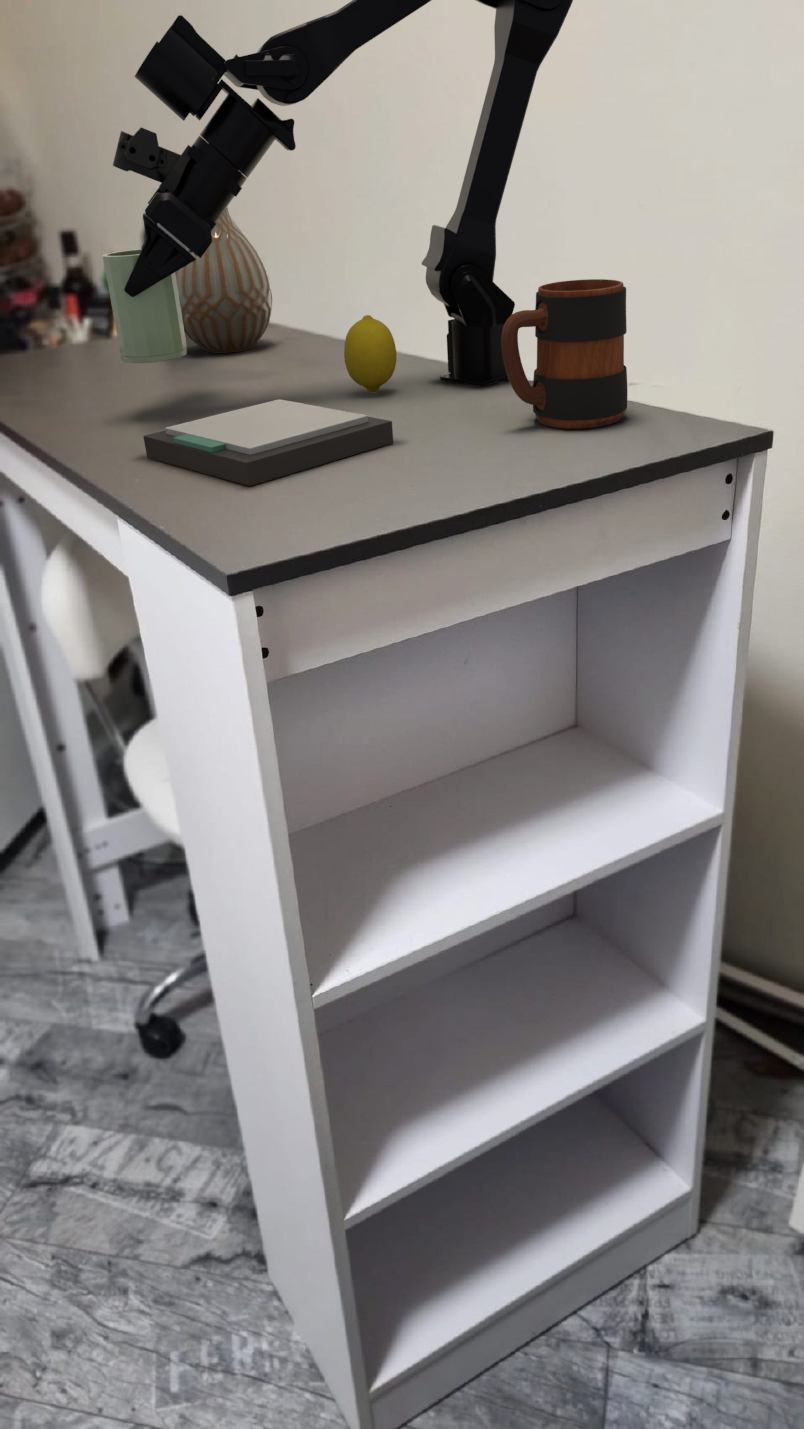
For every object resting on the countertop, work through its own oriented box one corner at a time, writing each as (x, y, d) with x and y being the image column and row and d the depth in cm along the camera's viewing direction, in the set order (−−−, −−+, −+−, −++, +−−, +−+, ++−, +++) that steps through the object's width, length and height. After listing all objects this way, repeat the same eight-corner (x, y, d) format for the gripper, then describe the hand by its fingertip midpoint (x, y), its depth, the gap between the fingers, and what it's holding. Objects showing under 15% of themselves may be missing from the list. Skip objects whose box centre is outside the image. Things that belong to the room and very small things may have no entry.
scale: (393, 443, 99) (391, 414, 97) (249, 486, 89) (245, 455, 88) (285, 420, 109) (282, 394, 108) (146, 457, 100) (141, 429, 99)
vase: (272, 336, 156) (256, 201, 148) (283, 351, 145) (266, 206, 136) (179, 346, 154) (158, 209, 146) (183, 362, 143) (160, 215, 134)
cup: (200, 351, 114) (184, 247, 109) (158, 364, 109) (139, 256, 104) (151, 349, 117) (134, 248, 112) (108, 362, 112) (87, 257, 107)
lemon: (405, 387, 119) (400, 310, 116) (388, 399, 115) (382, 319, 111) (358, 387, 121) (352, 311, 117) (339, 398, 117) (332, 320, 113)
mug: (484, 421, 103) (480, 290, 98) (597, 403, 107) (599, 275, 101) (524, 441, 96) (522, 300, 91) (644, 421, 99) (649, 284, 94)
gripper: (154, 98, 111) (66, 227, 114) (151, 90, 94) (49, 240, 98) (243, 178, 115) (156, 299, 119) (255, 183, 99) (153, 323, 103)
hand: (129, 289), depth 110 cm, fingers closed on cup, 7 cm apart
